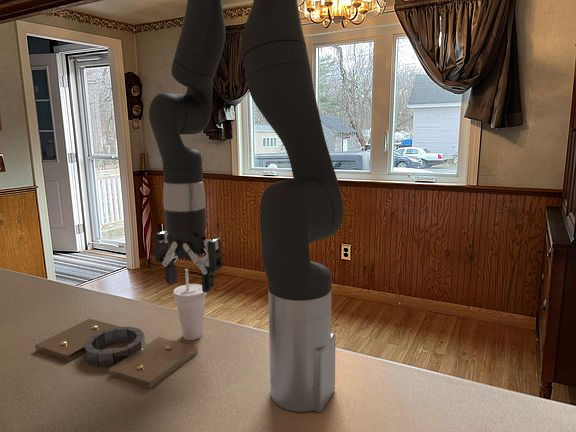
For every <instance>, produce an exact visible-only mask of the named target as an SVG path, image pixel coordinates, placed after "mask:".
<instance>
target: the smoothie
mask: <svg viewBox="0 0 576 432" xmlns="http://www.w3.org/2000/svg"><path fill="white" fill-rule="evenodd" d="M184 272H185V273H184V274H185V284H183V285H179V286H177V287H175V288H174V289H173V291H172V293H173V295H172V296H173V298H174V299H175V304H176V308H177V309H176V310H177V313H178V318H179V323H180V328H181V332H182V338H183V339H184V340H187V341H193V340H198V339H200V338H201V337H202V336H203V329H204V328H203V327H204V316H205V303H206V302H205V300H206V299H205V298H206V295H207V293H208V292H207V293H206V292H203V291H202V284H199V283H190V281H189V280H190V279H189V277H190V276H189V268H184Z"/></svg>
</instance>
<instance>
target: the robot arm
mask: <svg viewBox="0 0 576 432" xmlns="http://www.w3.org/2000/svg"><path fill="white" fill-rule="evenodd" d="M222 3H223V2H222V0H187V3H186V9H185V14H184V18H183V22H182V26H181V27H182V28H181V32H180V35H179V39H178V42H177V45H176V50H175V53H174V56H173V60H172V64H171V76H172V77H173V79H174V80H175V81H176V82H177V83H179V84H181V85H183V86H184V87H187V89H186V92H185V93H184V94H183V93H172V92H171V93H168V92H162V93H159V94H157V95H155V96H154V97H153V99H152V100H151V102H150V104H149V109H148V120H149V123H150V124H149V125H150V127H151V130H152V133H153V135H154V139H155V141H156V144H157V148H158V150H159V153H160V157H161V161H162V172H163V173H162V175H163V191H162V195H163V197H162V198H163V210H164V211H163V213H164V214H163V215H164V228H165V230H162V231H159V232H156V233H154V260H155V262H156V263H160V264H162V266H163V267H164V276H165V277H164V278H165V281H166V285H169V286H172V285H175V284H176V283H177V282H178V272H177V271H178V270H177V269H178V268H177V264H176V262H177V260H178V259H186V260H189V261H191V260H192V262H193V264H194V265H195V266H197V267H198V268H199V270H200V271H201V285H202V291H203V292H206V293H209V292H210V291H212V289H213V288H214V286H215V284H214V283H215V281H214V280H215V279H214V278H215V277H214V273H216V272H217V271H219V270H221V269H222V268H224V267H223V255H222V245H221V239H220V238H219V237H216V238H213V239H208V238H207V237H206V229H207V209H206V207H207V205H206V192H205V185H204V172H203V170H204V169H203V157H202V153H201V152H200V151H199V149H195V148H192V147H186V145H185V144H184V142H183V140H182V137H181V135H197V134H200V133H202V132H203V131H204V130H205V129H206V128H207V126H208V124H210V120H211V116H212V106H213V105H212V103H213V89H214V88H213V84H214V78H215V75H216V73H217V70H218V67H219V64H220V61H221V58H222V55H223V51H224V47H225V42H226V24H225V16H224V11H223V4H222ZM300 15H301V14H300V11H299V4H298V0H252V5H251V9H250V12H249V14H248V16H247V19H246V22H245V25H244V29H243V31H242V35H241V41H240V42H241V43H240V51H241V59H242V64H243V68H244V73H245V79H246V85H247V87H248V92H249V94H250V95H249V96H250V97H251V99H252V101H253V103H254V104H255V106H256V107H257V109H258V110H259V112H260V113H261V115H262V116H263V117H264V119H265V120H266V121H267V123H268V125H270V127H271V128H272V129H273V131H274V133H275V134H276V135H277V137H278V138H279V139H280V142H282V145H283V147H284V149H285V151H286V154H287V157H288V161H289V164H290V167H291V168H290V169H291V172H292V173H291V174H292V178H293V179H286V180H280V181H279V180H278V181H275V182H273V183H270V184H269V185H268V186H267V187H266V188H265V190H264V192H263V194H262V195H261V199H260V203H259V230H260V240H261V241H260V242H261V254H262V264H263V268H264V273H265V275H266V278H267V286H268V288H267V289H268V297H267V298H268V330H269V331H268V335H269V336H268V337H269V339H268V340H269V341H268V342H269V372H270V373H269V377H270V379H269V384H270V397H271V400H273V402H274V403H275V404H276V405H277V406H278V407H280V408H282V409H284V410H287V411H291V412H298V413H299V412H303V413H304V412H305V413H306V412H311V411H315V412H318V413H321V412H323V410H324V408H325V407H326V405H327V404H328V402H329V400H330V398H331V397H332V396H333V394H334V392H335V389H336V341H337V340H336V334H335V333H334V332H332V287H333V286H332V284H333V283H332V282H333V281H332V279H333V278H332V272H331V270H330V268H328V267H327V266H326V265H323V264H322V263H319V262H315V261H312V260H311V256H310V244H311V243H314V242H318V241H321V240H325V239H328V238H331V237H332V236H334V235H336V234H337V232H338V231H339V230H340V228H341V226H342V224H343V220H344V209H345V208H344V201H343V196H342V193H341V192H342V191H341V188H340V185H339V180H338V178H337V174H336V170H335V168H334V165H333V164H334V163H333V161H332V158H331V155H330V151H329V148H328V145H327V141H326V137H325V133H324V129H323V125H322V120H321V114H320V110H319V108H318V107H319V105H318V101H317V97H316V93H315V89H314V83H313V76H312V71H311V63H310V60H309V58H310V57H309V55H308V54H309V53H308V50H307V44H306V41H305V40H306V39H305V34H304V31H303V26H302V22H301V16H300ZM169 246H170V247H169ZM200 255H201V257H200Z"/></svg>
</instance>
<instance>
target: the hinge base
mask: <svg viewBox="0 0 576 432" xmlns="http://www.w3.org/2000/svg"><path fill="white" fill-rule="evenodd" d="M144 333H145V332H143V331H142V329H141V328H136V327H134V326H119V325H115V324H112V323H107V322H104V321H99V320H97V319H96V320H95V319H94V318H93V319H92V318H88V319H86V320H84V321H82V322H80V323H77V324H76V325H74V326H72V327H69V328H67V329H65V330H63V331H61V332H59V333H57V334H55V335H52V336H51V337H49V338H45V340H42V341H39V343H36V344H35V345H34V347H35V352H38V353H42V354H44V355H48V356H50V357H53V358H57V359H59V360H63V361H66V362H68V363H69V362H71V361H72V360H74V359H77V358H78V357H80V356H82V355H83V354H84V356H85V357H84V358H85V360H86V363H87V364H88V365H91V366H94V367H96V368H108V376H110V377H113V378H116V379H119V380H122V381H124V382H128V383H131V384H133V385H136V386H140V387H143V388H145V389H149V390H151V389H153V388H154V387H155V386H156V385H158V384H159V383H160V382H162V381H163V380H165V378H167V377H168V376H170V375H171V374H172V373H174V371H176V370H178V368H180V367H182V365H184V364H185V363H186V362H187V361H189V360H190V359H191V358H193V357H194V356H195V355H197V354H198V346H195V345H192V344H187V343H184V342H180V341H176V340H172V339H168V338H164V337H161V336H158V337H157V338H155V339H154V340H152V341H150V342H149V343H148V344H146V340H145V334H144ZM118 342H121V343H123V342H129V344H127V345H126V346H123V347H119V348H115V349H105V350H104V349H103V350H102V348H103V347H104V346H105V347H106V346H108V345H110V344H114V343H118Z"/></svg>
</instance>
